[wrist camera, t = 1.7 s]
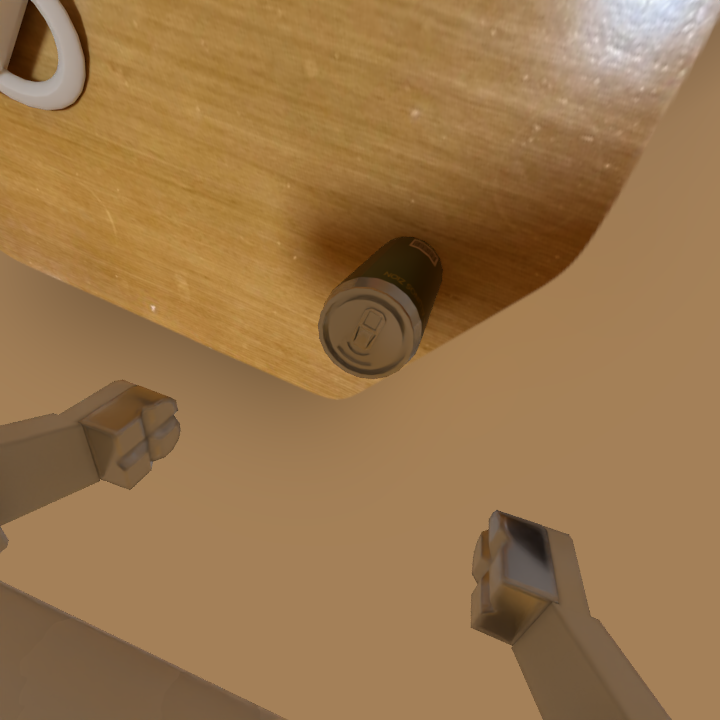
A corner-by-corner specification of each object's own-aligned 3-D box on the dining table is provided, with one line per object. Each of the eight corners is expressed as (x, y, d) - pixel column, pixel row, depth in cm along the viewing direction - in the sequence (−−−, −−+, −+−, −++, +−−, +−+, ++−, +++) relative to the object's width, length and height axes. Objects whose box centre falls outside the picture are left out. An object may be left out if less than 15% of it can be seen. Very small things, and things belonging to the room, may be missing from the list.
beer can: (393, 221, 27) (337, 261, 17) (457, 257, 26) (440, 320, 16) (363, 283, 30) (300, 350, 20) (421, 316, 29) (387, 399, 19)
